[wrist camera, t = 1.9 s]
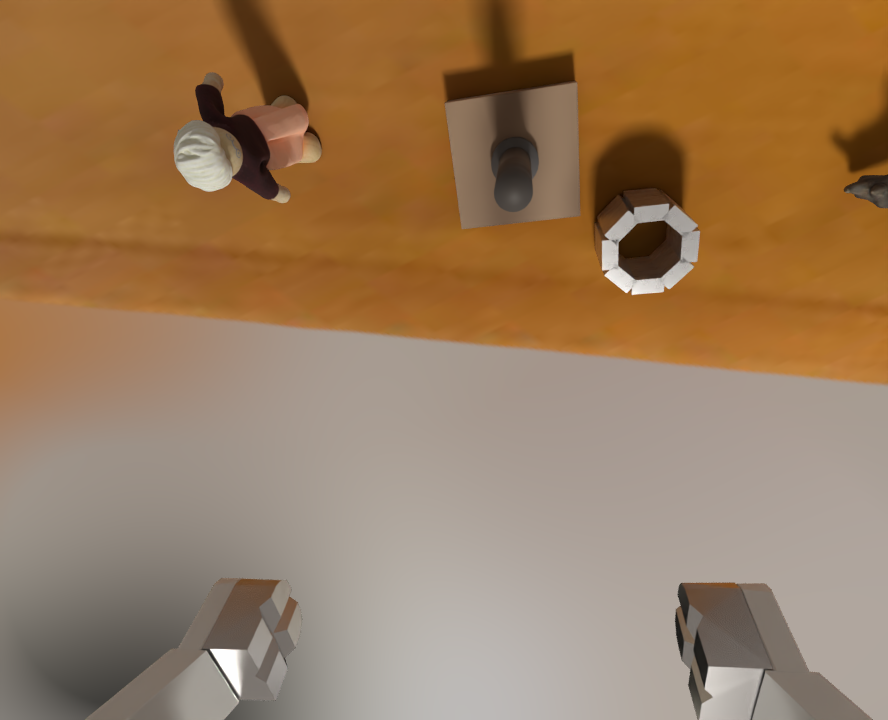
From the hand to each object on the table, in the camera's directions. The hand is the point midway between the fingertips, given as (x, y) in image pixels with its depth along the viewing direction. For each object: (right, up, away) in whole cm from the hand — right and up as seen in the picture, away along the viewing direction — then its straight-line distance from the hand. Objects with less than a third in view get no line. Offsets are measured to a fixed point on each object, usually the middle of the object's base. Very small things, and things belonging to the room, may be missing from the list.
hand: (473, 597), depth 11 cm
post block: (+4, +19, +24) cm, 31 cm away
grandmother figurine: (-11, +21, +25) cm, 35 cm away
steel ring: (+13, +14, +26) cm, 32 cm away
